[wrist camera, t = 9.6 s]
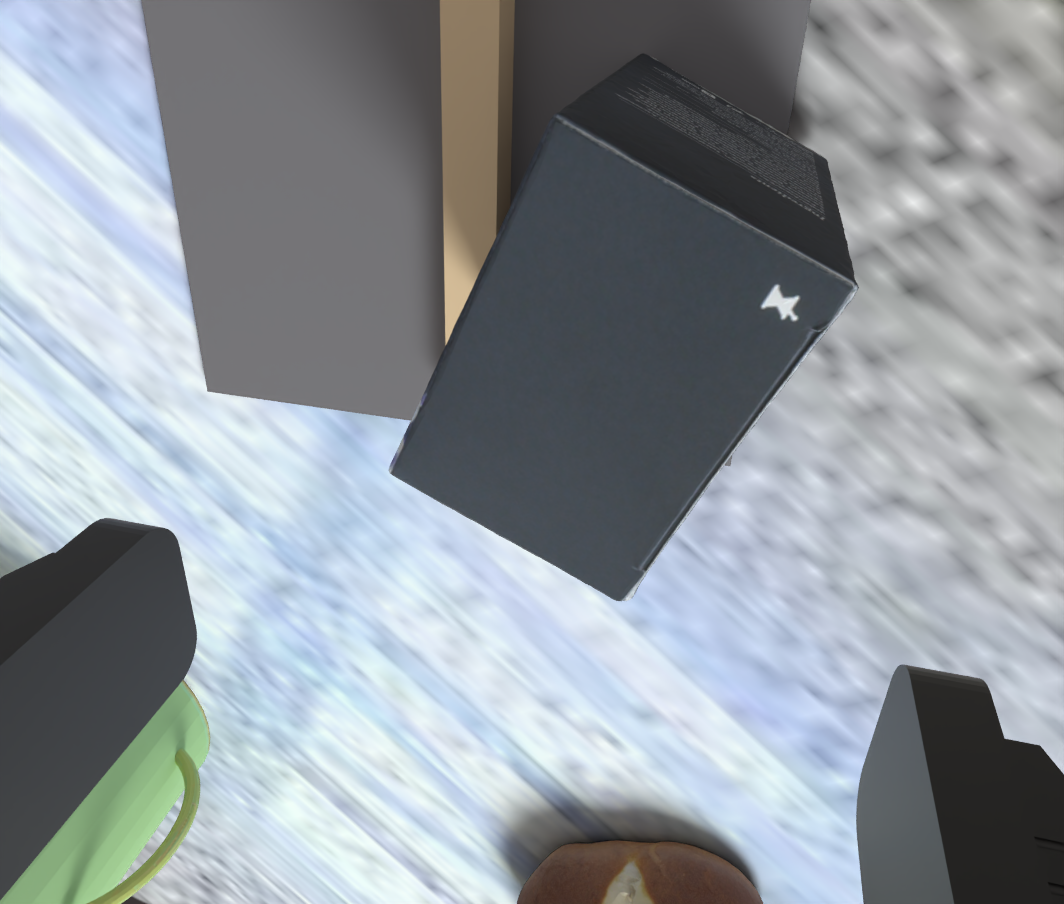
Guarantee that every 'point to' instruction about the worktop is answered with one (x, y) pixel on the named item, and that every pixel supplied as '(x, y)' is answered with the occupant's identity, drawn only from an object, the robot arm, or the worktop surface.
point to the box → (629, 324)
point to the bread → (636, 876)
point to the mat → (393, 161)
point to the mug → (125, 814)
